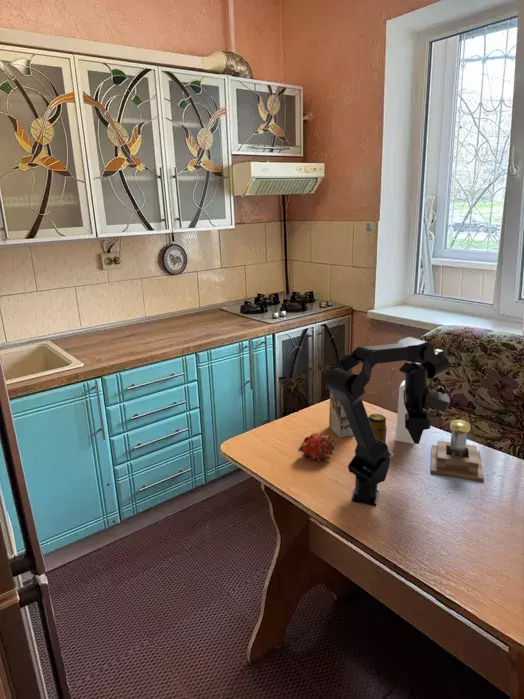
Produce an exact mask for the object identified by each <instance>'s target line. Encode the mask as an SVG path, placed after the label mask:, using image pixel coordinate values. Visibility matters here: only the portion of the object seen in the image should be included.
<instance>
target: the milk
mask: <svg viewBox="0 0 524 699" xmlns="http://www.w3.org/2000/svg"><path fill="white" fill-rule="evenodd" d="M404 390H405V379H404V380H402V382H401V383H400V385H399V390H398V392H399V393H398V402H397V404H398V405H397V416H396V427H395V441H397V442H402V443H406V444H411V445H415V443H414V442H413V440H412V438H411V436H410V434H409V432H408V430H407V429H406V428H405V414H407V413H408V412H407V410H406V408H405V405H404V398H403V391H404Z"/></svg>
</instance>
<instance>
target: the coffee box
mask: <svg viewBox="0 0 524 699" xmlns="http://www.w3.org/2000/svg"><path fill="white" fill-rule="evenodd" d="M328 418H329V419H328V420H329V422H328V427H329V428H330V429H331V430H332V431H333V432H334V433H335V434H336V435H337V436H338V437H339V438H345V437H352V436H354V434H353V432H352V429H351V427H350V424H349V421H348V419H347V416H346V414H345V411H344V409H343V406H342V404H341V403H340V402H339V401H338V400H337V399H336V398H335V397H334V396H333V395H332V393H331V392H330V391H329V417H328Z"/></svg>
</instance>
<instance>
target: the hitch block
mask: <svg viewBox="0 0 524 699" xmlns="http://www.w3.org/2000/svg"><path fill="white" fill-rule="evenodd" d="M450 443H451V441H446V440H445V441H443V440H437V445H435V444H432V445H431V456H430V457H431V458H430V474H433V475H441V476H446V477H453V478H459V479H465V480H470V479H473V480H472V481H476V480H478V482H482V481H485V476H484V470H483V462H482V457H481V456H482V455H481V451H478V449H477V445H473V444H472V445H471V444H466V448H465V456H464V457H458V456H451V455H449V452H450Z"/></svg>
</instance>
